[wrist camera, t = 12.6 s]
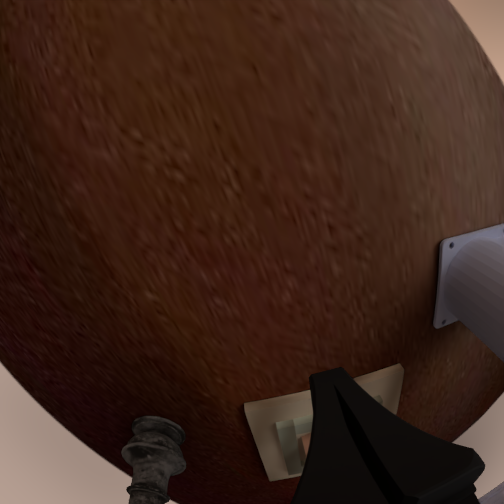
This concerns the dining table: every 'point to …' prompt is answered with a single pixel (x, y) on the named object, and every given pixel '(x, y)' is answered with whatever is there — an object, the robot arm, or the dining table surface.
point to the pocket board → (306, 421)
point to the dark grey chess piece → (153, 458)
